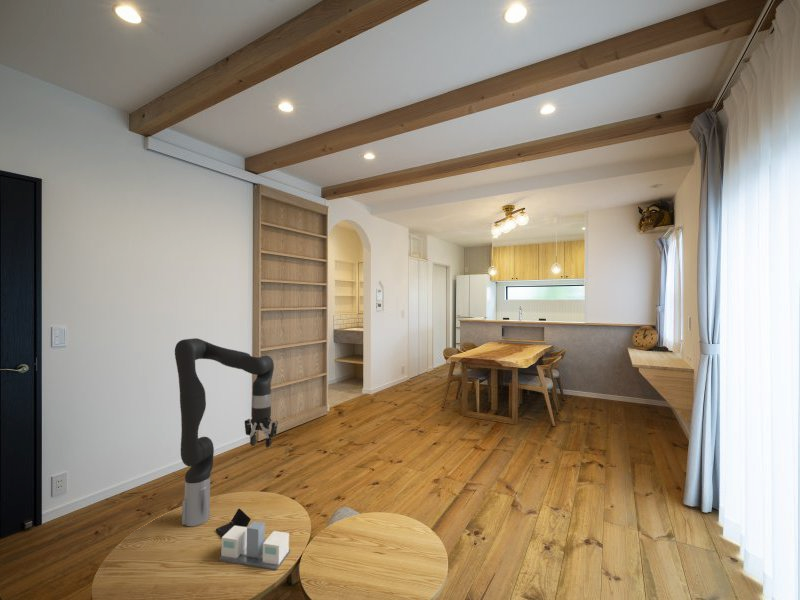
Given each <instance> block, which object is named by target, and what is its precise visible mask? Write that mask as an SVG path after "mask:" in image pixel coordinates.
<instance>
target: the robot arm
mask: <svg viewBox="0 0 800 600" xmlns="http://www.w3.org/2000/svg"><path fill="white" fill-rule="evenodd" d="M174 359H175V364H176V369H177V375H178V376H177V377H178V386H179V408H180V416H181V417H180V420H181V421H180V422H181V434H180V436H181V437H180V457H181V458H180V459H181V461H182V463H183V464H184V466H187V467H190V468H189V469H188V470H187V471H186V473H185V474H184V498H183V500H182V507H181V508H182V509H181V510H182V511H181V512H182V513H181V526H187V527H198V526H200V525H202V524H204V523H206V522H207V521H208V520H209V519H210V512H211V505H210V504H211V472H212V470H213V466H214V456H215V455H214V454H215V452H214V451H215V449H214V448H215V447H214V443H213V441H212V439H211V438H210V437H207V436H201V437H199V427H200V425H201V422H202V419H203V417H204V415H205V411H206V407H207V401H206V389H205V387H204V385H203V383H202V382H201V380H200V379H199V377H198V375H197V371H196V370H197V369H196V361H197V360H211V361H215V362H218V363H220V364H221V365H223V366H226V367H229V368H234V369H237V370H242V371H244V372H246V373H248V374H252V375H256V378H255V380H254V381H253V382H252V393H251V395H252V396H251V410H250V411H251V419H250V418H248V419H245V420H244V428H245V429H244V431H245V435H246V436H249V443H250V445H251V447H254V446H255V445H256V443H257V436H256V434H257V432H258V431H262V432H263V434H264V435H265V448H269V447H270V446H271V445H272V438H273V437H275V436H276V435H277V430H278V424H279V423H278V420H275V421H273V420H272V419H271V415H272V395H271V393H272V392H271V389H272V387H271V384H272V383H271V382H272V379H273V376H274V375H273V374H274V371H275V370H274V367H275V364H274V360H273V358H272V357H270V356H269V355H262V356H258V357H256V356H252V355H251V354H250V353H248V352H245V351H240V350H235V349H230V348H226V347H222V346H219V345H215V344H213V343H210V342H209V341H206V340H203V339H200V338H186V339H181V340H180V341H177V343H176V345H175V348H174Z"/></svg>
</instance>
